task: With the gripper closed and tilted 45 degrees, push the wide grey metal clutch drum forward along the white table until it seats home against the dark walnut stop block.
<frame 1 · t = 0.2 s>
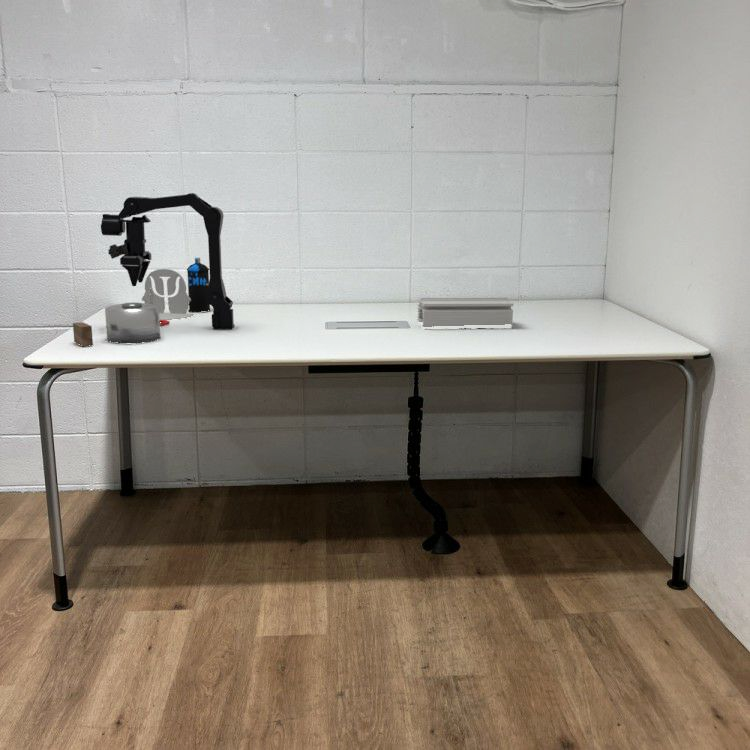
hand: (137, 284, 263), 15 cm above the table, tool pointing down, fingers open, 9 cm apart
clutch drum: (134, 338, 250), on the table
aluminum extrusion profile: (463, 327, 277), on the table
tow hook: (156, 325, 274), on the table
ornament: (159, 318, 287), on the table
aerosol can: (199, 311, 301), on the table
walnut stop block: (83, 344, 240), on the table
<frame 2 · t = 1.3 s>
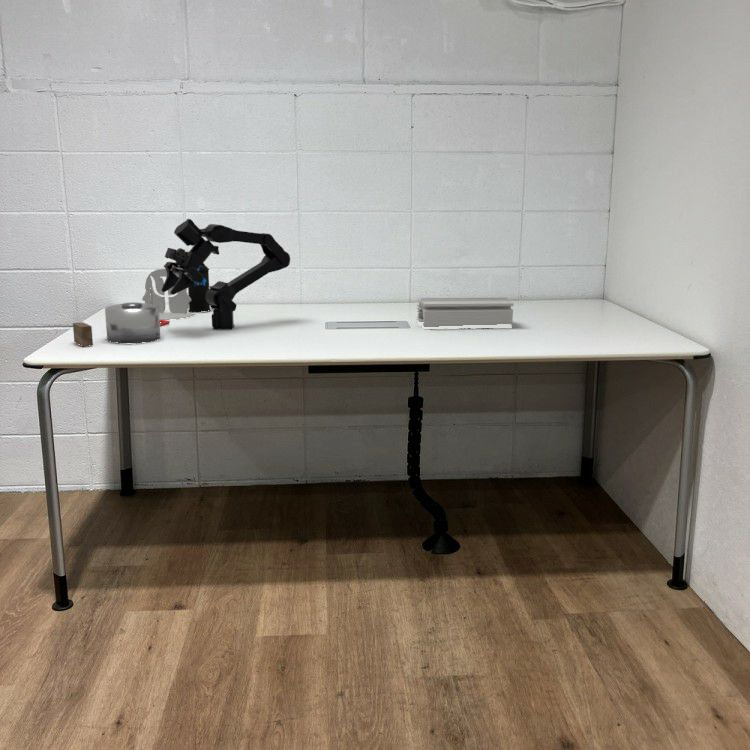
hand: (167, 292, 253), 13 cm above the table, tool tilted 45°, fingers open, 7 cm apart
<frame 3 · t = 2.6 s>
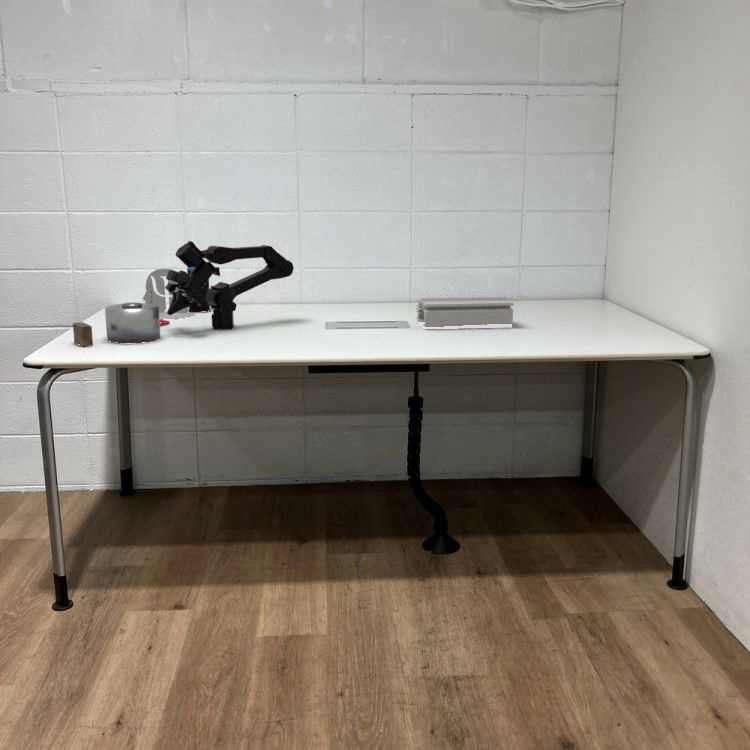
hand: (168, 314, 255), 7 cm above the table, tool tilted 45°, fingers closed
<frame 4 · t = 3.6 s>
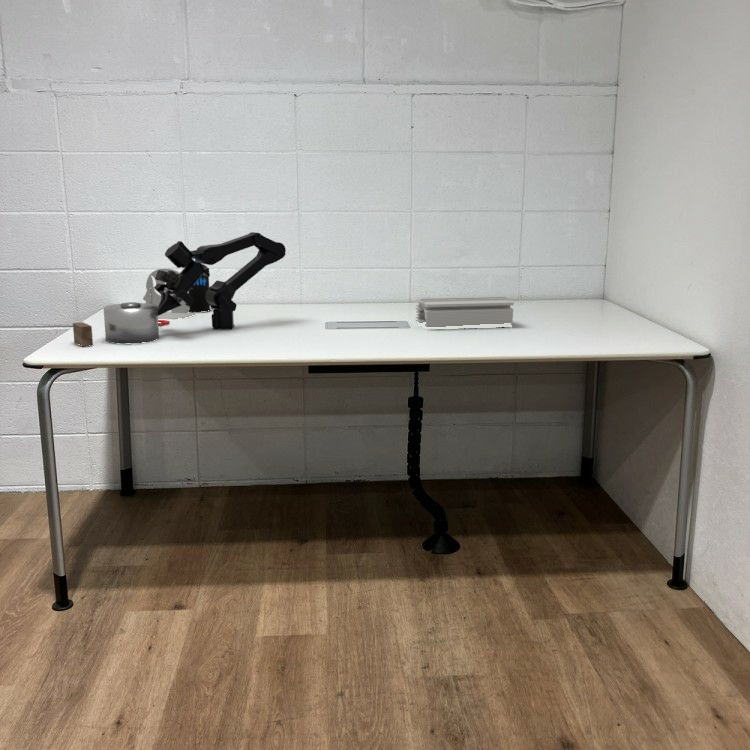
hand: (156, 314, 253), 7 cm above the table, tool tilted 45°, fingers closed, pressing on clutch drum
clutch drum: (132, 338, 249), on the table, touching gripper
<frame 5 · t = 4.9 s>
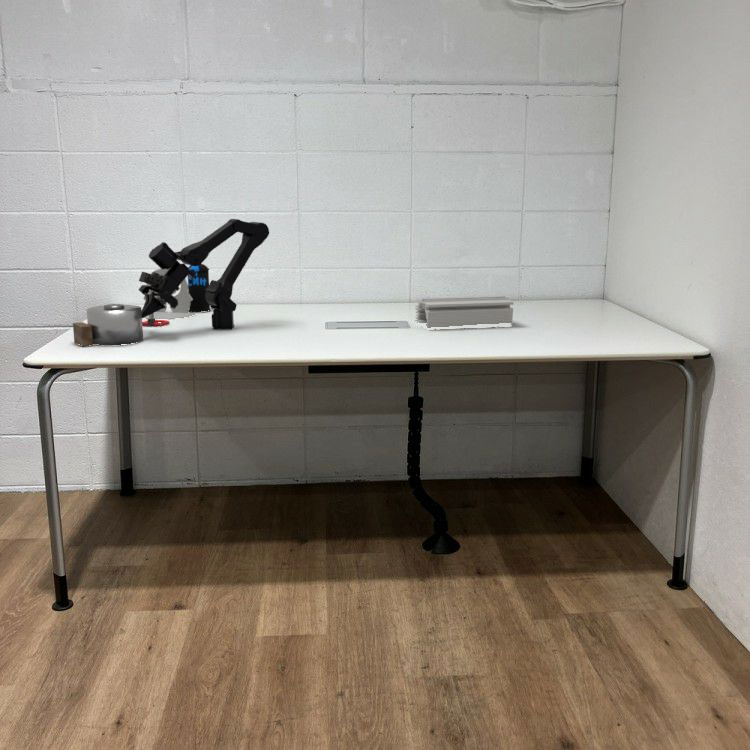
hand: (141, 316, 250), 7 cm above the table, tool tilted 45°, fingers closed, pressing on clutch drum
clutch drum: (116, 340, 246), on the table, touching gripper
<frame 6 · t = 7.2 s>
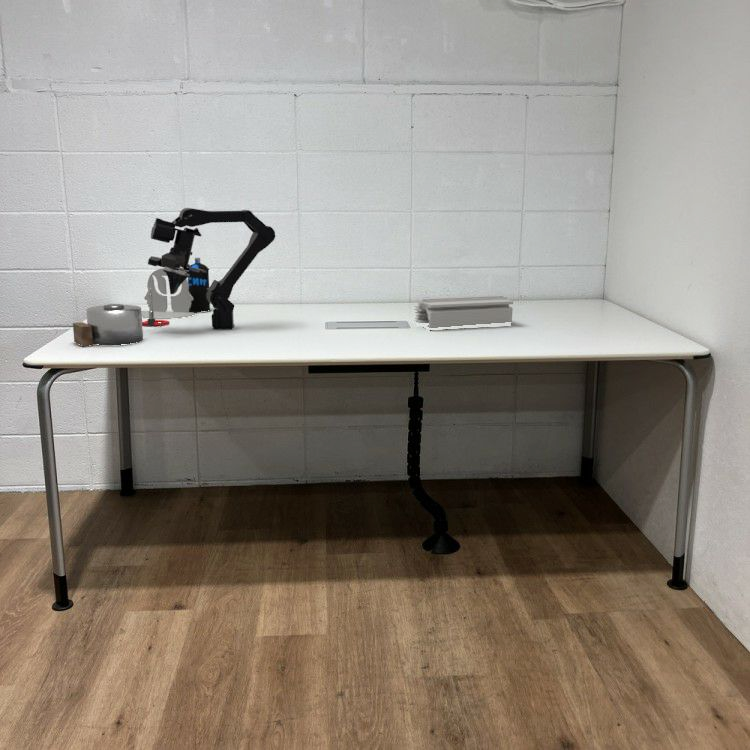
hand: (172, 293, 259), 12 cm above the table, tool tilted 15°, fingers closed
clutch drum: (116, 340, 246), on the table
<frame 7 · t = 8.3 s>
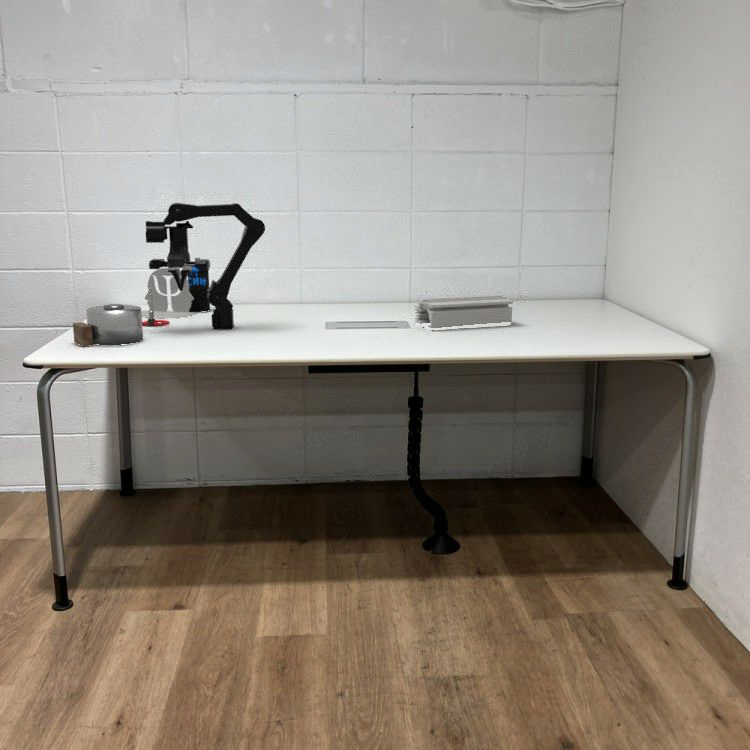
hand: (181, 290, 261), 13 cm above the table, tool pointing down, fingers closed
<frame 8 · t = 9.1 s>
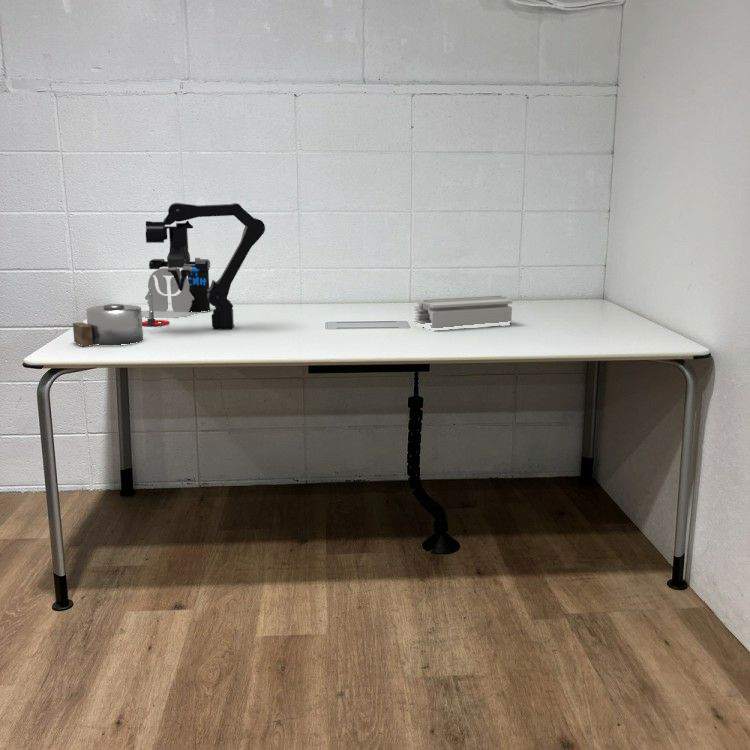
hand: (181, 290, 261), 13 cm above the table, tool pointing down, fingers closed
at the end: clutch drum inside the target area (0.4 cm from its centre), on the table; clutch drum moved 5.7 cm from its start; clutch drum tilted 0° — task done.
